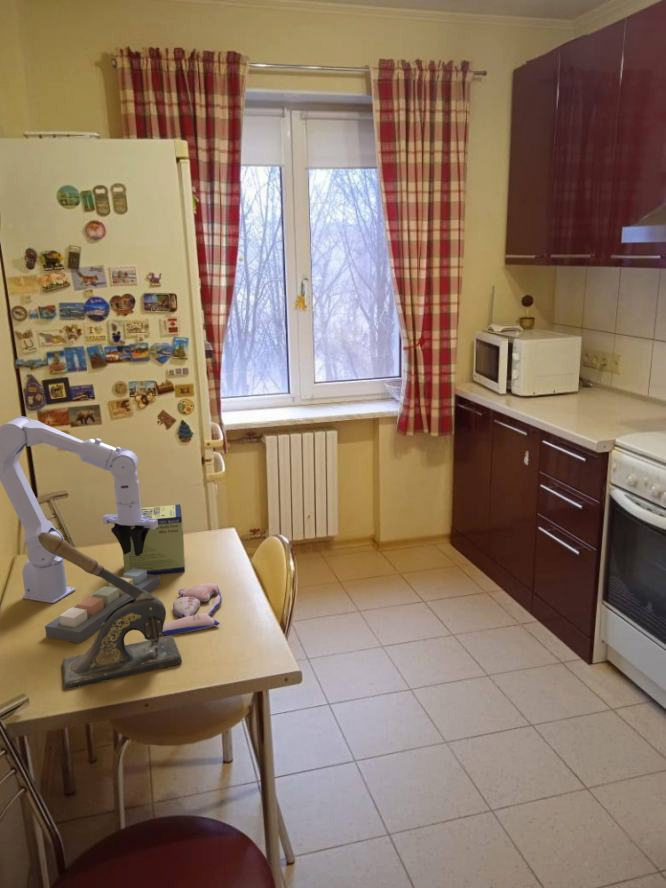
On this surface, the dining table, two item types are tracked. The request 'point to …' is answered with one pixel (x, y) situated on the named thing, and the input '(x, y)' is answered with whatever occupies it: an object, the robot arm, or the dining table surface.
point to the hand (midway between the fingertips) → (133, 553)
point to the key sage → (107, 594)
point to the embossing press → (117, 629)
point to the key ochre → (120, 589)
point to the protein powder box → (160, 543)
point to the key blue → (136, 575)
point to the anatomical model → (193, 609)
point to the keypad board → (96, 616)
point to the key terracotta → (91, 605)
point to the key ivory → (73, 617)
